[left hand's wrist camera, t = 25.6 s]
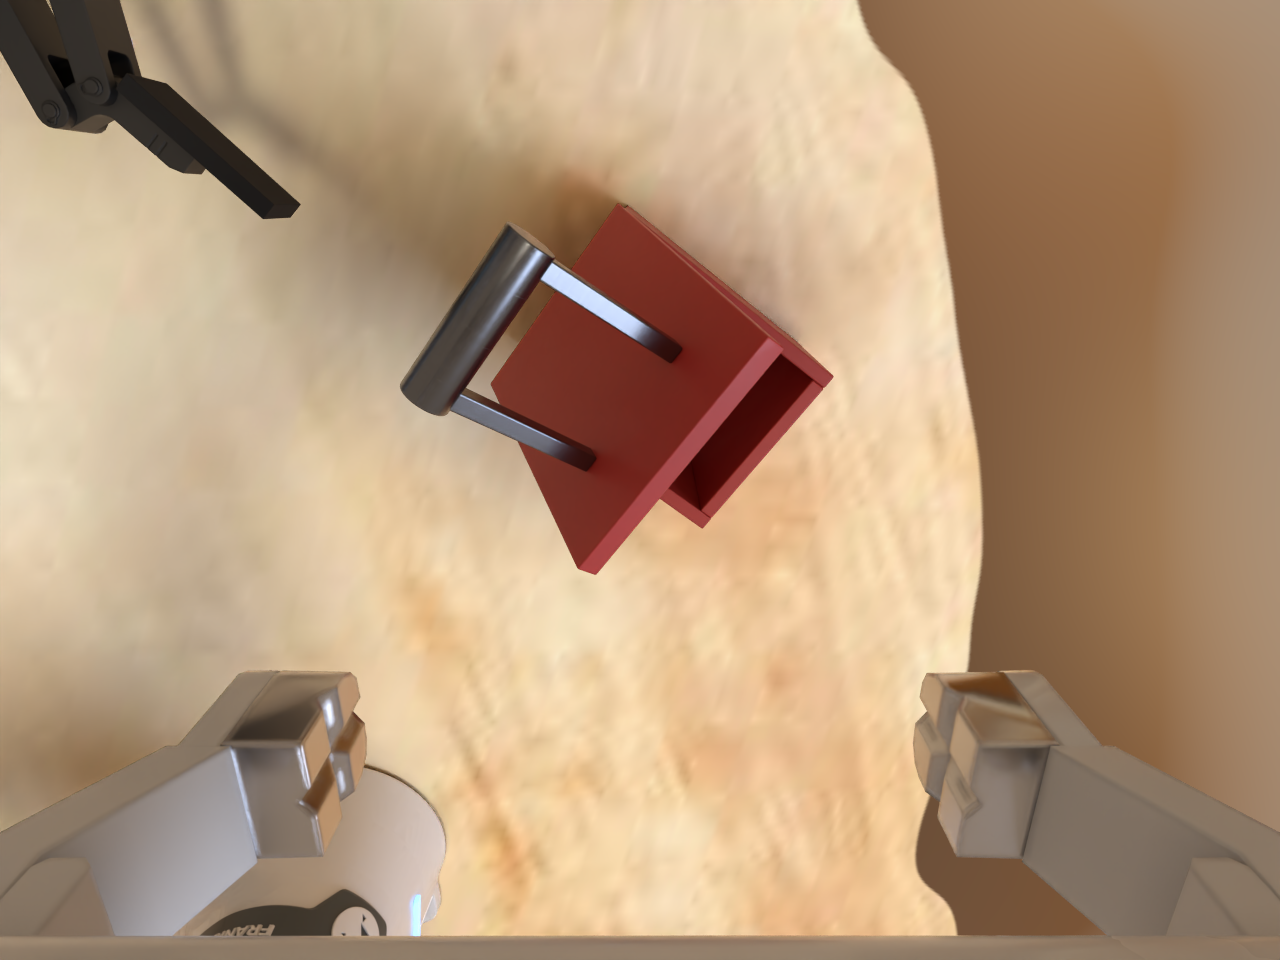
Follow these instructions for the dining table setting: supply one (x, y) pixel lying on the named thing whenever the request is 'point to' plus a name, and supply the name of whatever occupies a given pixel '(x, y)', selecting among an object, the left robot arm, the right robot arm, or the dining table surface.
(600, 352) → the lid
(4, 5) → the right robot arm
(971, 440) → the dining table surface
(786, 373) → the chest
